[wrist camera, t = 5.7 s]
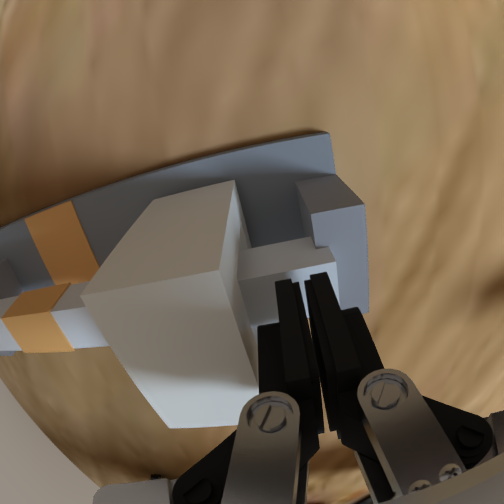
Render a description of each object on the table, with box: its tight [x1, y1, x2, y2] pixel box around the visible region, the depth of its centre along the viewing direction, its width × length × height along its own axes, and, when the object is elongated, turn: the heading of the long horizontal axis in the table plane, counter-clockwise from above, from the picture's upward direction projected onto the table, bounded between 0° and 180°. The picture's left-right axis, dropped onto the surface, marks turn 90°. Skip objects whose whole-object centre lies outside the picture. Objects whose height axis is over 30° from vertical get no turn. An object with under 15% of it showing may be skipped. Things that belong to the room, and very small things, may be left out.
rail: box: [0, 132, 369, 356], centre depth 15 cm, size 23×9×6 cm, turn 103°
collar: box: [80, 180, 259, 428], centre depth 12 cm, size 4×7×8 cm, turn 13°
